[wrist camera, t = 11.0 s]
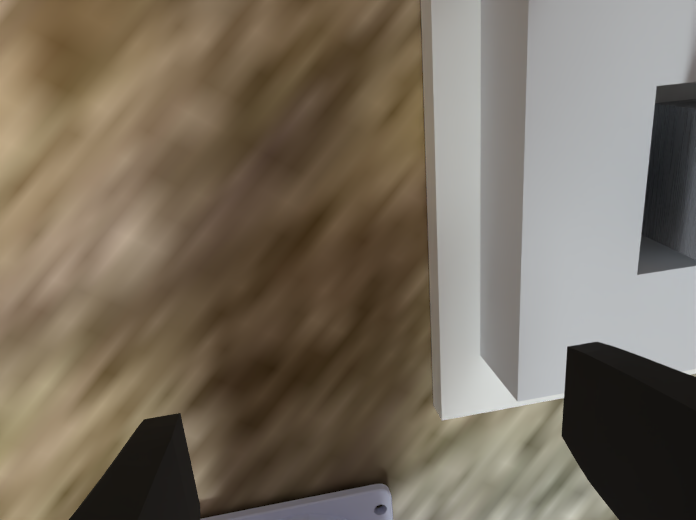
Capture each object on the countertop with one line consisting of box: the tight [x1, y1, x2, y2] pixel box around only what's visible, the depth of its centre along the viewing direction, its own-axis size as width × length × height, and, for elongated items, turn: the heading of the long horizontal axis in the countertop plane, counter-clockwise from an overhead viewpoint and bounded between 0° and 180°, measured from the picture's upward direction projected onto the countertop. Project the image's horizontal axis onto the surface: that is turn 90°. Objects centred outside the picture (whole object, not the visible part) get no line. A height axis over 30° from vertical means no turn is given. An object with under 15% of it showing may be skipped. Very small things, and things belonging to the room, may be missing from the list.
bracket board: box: [421, 0, 696, 420], centre depth 19 cm, size 18×16×4 cm
